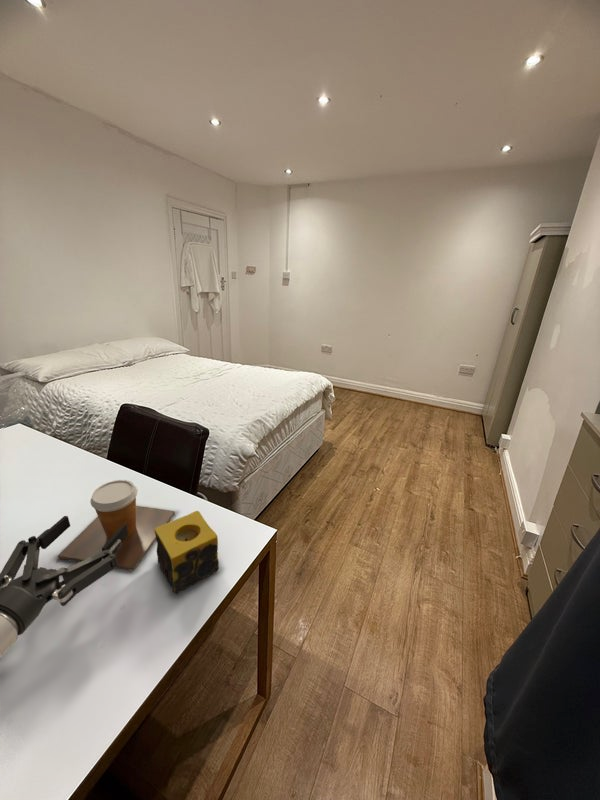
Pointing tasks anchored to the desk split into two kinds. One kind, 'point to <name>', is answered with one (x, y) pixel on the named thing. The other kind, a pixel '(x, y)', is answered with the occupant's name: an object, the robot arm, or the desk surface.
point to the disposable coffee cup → (116, 506)
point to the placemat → (131, 547)
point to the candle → (186, 551)
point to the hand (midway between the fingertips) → (96, 524)
